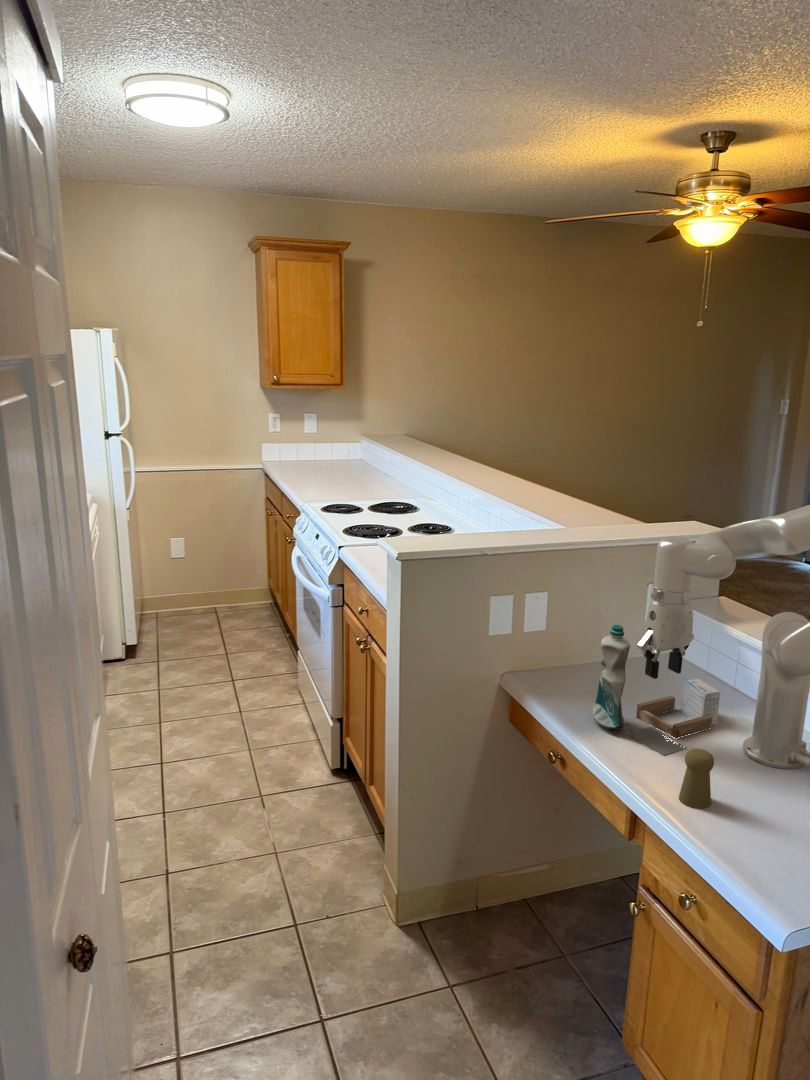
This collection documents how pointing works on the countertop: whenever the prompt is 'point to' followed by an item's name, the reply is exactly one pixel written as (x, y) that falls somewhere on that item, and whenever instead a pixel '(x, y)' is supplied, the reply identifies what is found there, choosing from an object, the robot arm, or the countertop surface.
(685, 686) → the medicine box
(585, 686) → the countertop surface
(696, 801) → the olive pawn figure
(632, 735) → the stand pad
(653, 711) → the frame
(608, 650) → the detergent
